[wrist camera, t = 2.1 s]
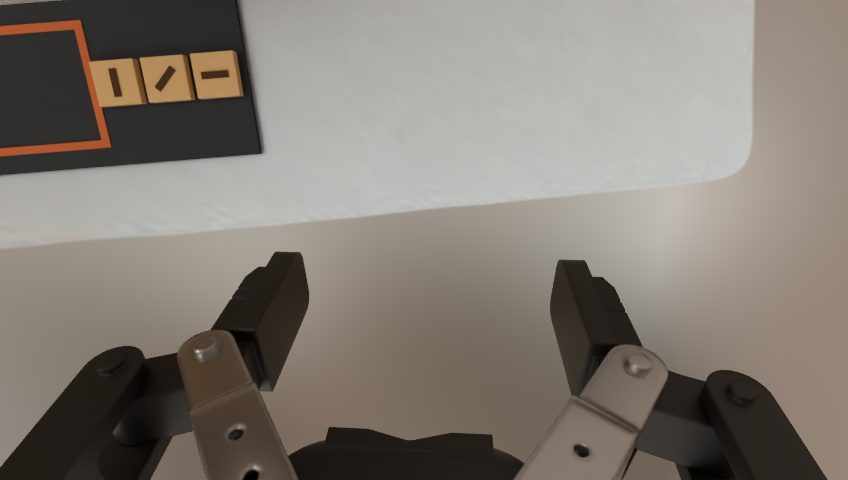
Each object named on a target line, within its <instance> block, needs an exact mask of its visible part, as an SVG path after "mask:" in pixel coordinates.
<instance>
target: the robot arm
mask: <svg viewBox="0 0 848 480" xmlns="http://www.w3.org/2000/svg"><path fill="white" fill-rule="evenodd" d="M308 304H309V289H308V284H307V278H306V273H305V267H304V262H303V257H302V255H301V253H300V252H275V253H274V254H273V256H272V258H271V259H270V261H269V263H268V264H267V266H266V267H258V268H256V269H255V270H254V271H252V272H251V273H250V274H248V275H247V276H246V277H245V278H244V280H243V281H242V283H241V284H240V286H239V287H238V290H236V292H235V293H234V295H233V297H232V299H231V300H230V301H229V303H228V304H227V306H226V307H225V309H224V310H223V312H222V313H221V315H220V316H219V318H218V319H217V321H216V322H215V324H214V325H213V327H212V328H211V330H209V331H205V332H202V333H199V334H197V335H195V336H193V337H191V338H190V339H188V340H187V341H186V342H185V343H184V344H183V345H182V346H181V347H180V349H179V350H178V352H177V353H174V354H169V355H164V356H159V357H154V358H149V359H145V357H144V355H143V353H142V351H141V350H140V349H138V348H136V347H132V346H122V347H116V348H113V349H110V350H107V351H105V352H103V353H101V354H99V355H97V356H96V357H94V358H93V359H91V360H90V361H89V362H88V363H87V364H86V365H85V366H84V367H83V368H82V370H81V371H80V372H79V373H78V374H77V376H76V377H75V378H74V379H73V380H72V382H71V383H70V384H69V385H68V386H67V388H66V389H65V390H64V391H63V392H62V394H61V395H60V396H59V397H58V398H57V400H56V401H55V402H54V403H53V405H52V406H51V407H50V408H49V409H48V410H47V412H46V413H45V414H44V415H43V417H42V418H41V419H40V420H39V421H38V423H37V424H36V425H35V426H34V427H33V429H32V430H31V431H30V432H29V433H28V435H27V436H26V437H25V438H24V439H23V441H22V442H21V443H20V444H19V446H18V447H17V448H16V449H15V450H14V452H13V453H12V454H11V455H10V456H9V458H8V459H7V460H6V461H5V462H4V464H3V465H2V466H1V467H0V480H150V479H151V477H152V475H153V473H154V471H155V469H156V468H157V466H158V464H159V462H160V460H161V458H162V456H163V454H164V452H165V450H166V448H167V447H168V445H169V443H170V441H171V439H172V437H173V436H175V435H178V434H183V433H187V432H191V431H193V432H194V436H195V440H196V443H197V447H198V451H199V455H200V458H201V462H202V466H203V470H204V473H205V478H206V480H623V479H624V478H625V476H626V474H627V472H628V469H629V467H630V465H631V463H632V461H633V459H634V457H635V455H636V453H637V451H638V450H640V451H643V452H645V453H649V454H651V455H655V456H657V457H660V458H663V459H667V460H669V461H672V462H675V464H676V467H677V470H678V472H679V475H680V478H681V480H827V478H826V477H825V475H824V474H823V472H822V471H821V469H820V467H819V466H818V464H817V463H816V461H815V460H814V458H813V457H812V455H811V454H810V452H809V451H808V449H807V447H806V446H805V444H804V443H803V441H802V440H801V438H800V437H799V435H798V434H797V432H796V431H795V429H794V428H793V426H792V424H791V423H790V422H789V420H788V418H787V417H786V415H785V414H784V412H783V411H782V409H781V408H780V406H779V404H778V403H777V401H776V400H775V398H774V397H773V395H772V394H771V393H770V392H769V391H768V390H767V388H765V387H764V386H763V385H762V384H760V383H759V382H758V381H756V380H755V379H753V378H751V377H749V376H747V375H744V374H741V373H739V372H735V371H730V370H719V371H715V372H713V373H711V374H710V375H709V376H708V378H707V380H706V382H705V381H701V380H697V379H694V378H690V377H687V376H683V375H680V374H677V373H674V372H671V371H669V370H668V369H667V367H666V365H665V363H664V362H663V361H662V360H661V359H660V357H658V356H657V355H656V354H655V353H653V352H651V351H650V350H647V349H645V348H643V346H642V344H641V342H640V340H639V338H638V336H637V334H636V332H635V330H634V328H633V325H632V323H631V321H630V319H629V317H628V315H627V313H625V309H624V307H623V305H622V303H620V298H619V296H618V294H617V292H616V290H615V288H614V287H613V286H612V285H611V284H609V283H608V282H607V281H606V280H605V279H604V278H603V277H592V275H591V273H590V271H589V268H588V266H587V264H586V262H585V261H584V260H559V261H558V263H557V267H556V273H555V278H554V283H553V289H552V295H551V302H550V313H551V319H552V324H553V327H554V331H555V335H556V339H557V342H558V346H559V349H560V353H561V357H562V361H563V365H564V368H565V372H566V376H567V380H568V383H569V387H570V391H571V395H572V397H571V398H570V399H569V401H568V402H567V403H566V405H565V406H564V408H563V409H562V411H561V412H560V414H559V415H558V416H557V418H556V419H555V421H554V422H553V424H552V425H551V426H550V428H549V429H548V431H547V432H546V434H545V435H544V436H543V438H542V439H541V441H540V442H539V444H538V445H537V446H536V448H535V449H534V451H533V452H532V454H531V455H530V456H529V458H528V459H527V461H526V462H525V464H524V463H523V462H521V461H520V460H519V459H517V458H515V457H513V456H512V455H510V454H508V453H505V452H503V451H501V450H498V449H495V448H493V441H492V440H493V439H492V435H486V434H464V433H448V434H444V435H438V436H432V437H428V438H422V439H417V440H404V439H400V438H397V437H394V436H390V435H387V434H384V433H380V432H377V431H374V430H370V429H359V428H338V427H337V428H336V427H329V429H328V433H327V437H326V440H325V441H320V442H316V443H313V444H310V445H308V446H306V447H303V448H301V449H299V450H297V451H296V452H294V453H292V454H291V455H289V456H288V455H287V453H286V450H285V448H284V446H283V443H282V441H281V439H280V437H279V434H278V432H277V430H276V428H275V425H274V423H273V421H272V419H271V416H270V414H269V412H268V410H267V407H266V405H265V403H264V401H263V398H262V396H261V394H260V391H273V390H274V387H275V385H276V383H277V380H278V378H279V375H280V373H281V371H282V368H283V366H284V363H285V361H286V359H287V356H288V354H289V351H290V349H291V347H292V345H293V342H294V340H295V337H296V335H297V333H298V330H299V328H300V326H301V323H302V321H303V318H304V316H305V314H306V311H307V308H308Z"/></svg>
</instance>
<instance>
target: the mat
mask: <svg viewBox="0 0 848 480" xmlns="http://www.w3.org/2000/svg"><path fill="white" fill-rule="evenodd" d="M260 153H261V146H260V140H259V134H258V128H257V122H256V116H255V110H254V104H253V98H252V92H251V85H250V79H249V73H248V67H247V61H246V55H245V49H244V43H243V37H242V31H241V24H240V18H239V12H238V6H237V0H63V1H51V2H38V3H25V4H12V5H0V175H4V174H16V173H28V172H40V171H53V170H65V169H77V168H89V167H101V166H114V165H126V164H138V163H150V162H162V161H174V160H187V159H199V158H211V157H223V156H235V155H248V154H260Z"/></svg>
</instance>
